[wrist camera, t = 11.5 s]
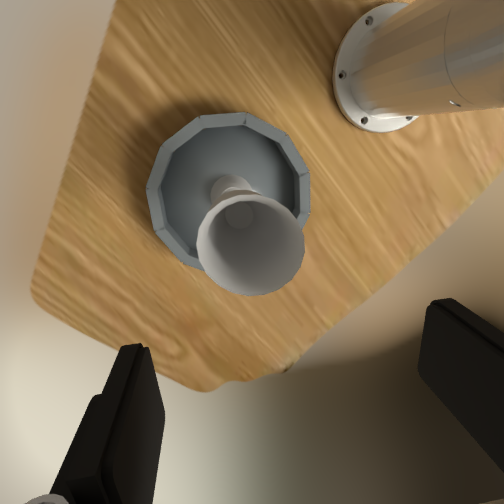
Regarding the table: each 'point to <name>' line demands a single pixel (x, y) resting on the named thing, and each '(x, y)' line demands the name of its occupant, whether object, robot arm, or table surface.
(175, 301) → the table surface
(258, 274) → the chalice
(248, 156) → the bowl
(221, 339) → the table surface
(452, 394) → the robot arm
